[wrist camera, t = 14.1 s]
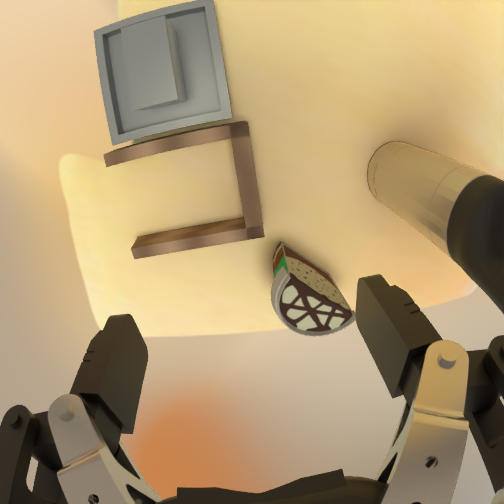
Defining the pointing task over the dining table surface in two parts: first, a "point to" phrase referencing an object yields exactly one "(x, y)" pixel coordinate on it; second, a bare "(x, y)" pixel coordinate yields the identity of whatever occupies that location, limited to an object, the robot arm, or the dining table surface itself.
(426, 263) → the dining table surface
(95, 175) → the dining table surface
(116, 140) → the charcoal tray
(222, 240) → the walnut bay
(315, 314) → the food container
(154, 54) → the grey rectangular prism
